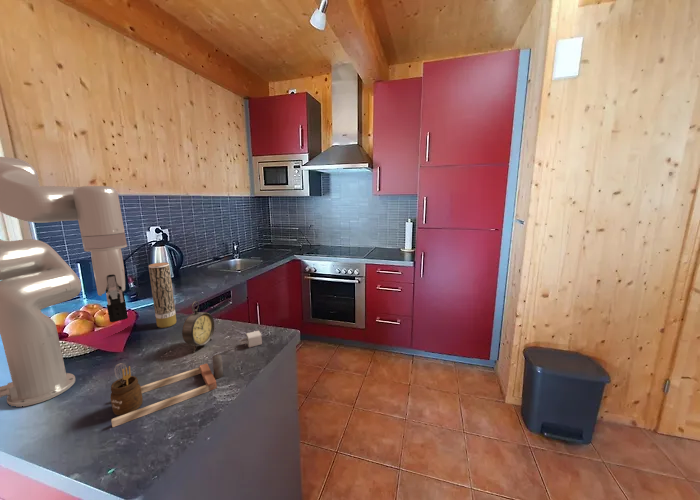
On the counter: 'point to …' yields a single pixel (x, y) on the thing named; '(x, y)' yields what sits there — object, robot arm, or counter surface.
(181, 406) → the counter surface
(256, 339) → the usb wall charger
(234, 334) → the counter surface
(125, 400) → the utensil holder
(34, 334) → the robot arm
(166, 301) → the paper tube
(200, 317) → the alarm clock
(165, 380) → the guide channel
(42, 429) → the counter surface
